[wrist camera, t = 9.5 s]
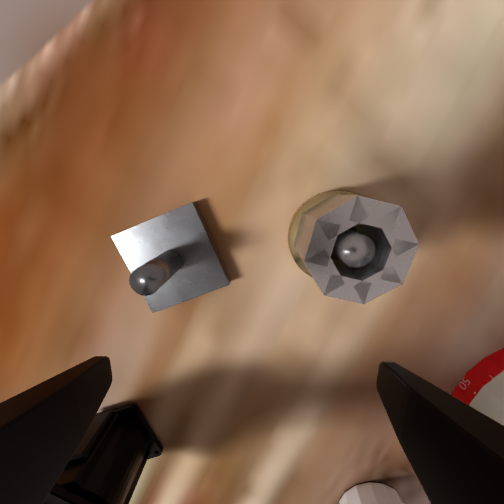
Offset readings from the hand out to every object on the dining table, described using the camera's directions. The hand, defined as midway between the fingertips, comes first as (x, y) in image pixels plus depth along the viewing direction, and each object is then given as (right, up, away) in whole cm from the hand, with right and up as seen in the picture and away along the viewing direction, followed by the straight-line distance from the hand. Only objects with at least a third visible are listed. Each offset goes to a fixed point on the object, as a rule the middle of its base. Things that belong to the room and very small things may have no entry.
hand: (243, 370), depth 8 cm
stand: (-6, +3, +12) cm, 14 cm away
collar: (+7, +5, +10) cm, 13 cm away
